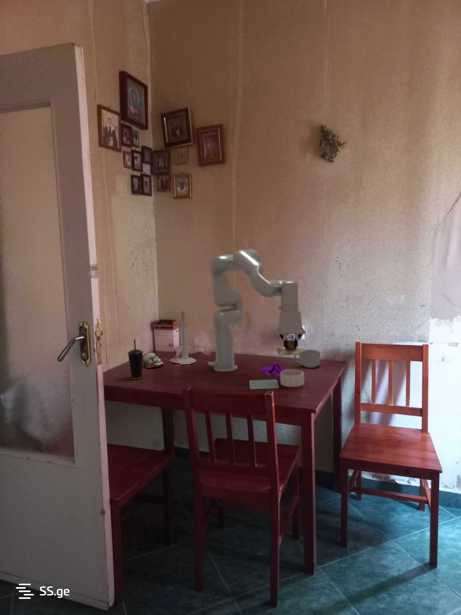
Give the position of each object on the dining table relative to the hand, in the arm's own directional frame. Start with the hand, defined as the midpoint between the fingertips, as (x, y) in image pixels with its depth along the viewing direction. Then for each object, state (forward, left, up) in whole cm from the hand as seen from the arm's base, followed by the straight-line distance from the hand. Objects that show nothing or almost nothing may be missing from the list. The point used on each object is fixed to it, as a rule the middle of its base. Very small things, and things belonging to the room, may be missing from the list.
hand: (290, 348), depth 209 cm
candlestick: (-54, +48, -18) cm, 75 cm away
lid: (0, 0, -2) cm, 2 cm away
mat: (-13, 0, -17) cm, 22 cm away
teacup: (+12, +32, -18) cm, 39 cm away
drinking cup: (-75, +19, -18) cm, 79 cm away
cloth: (-6, +20, -18) cm, 28 cm away
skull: (-72, +43, -18) cm, 85 cm away
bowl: (0, 0, -17) cm, 17 cm away
